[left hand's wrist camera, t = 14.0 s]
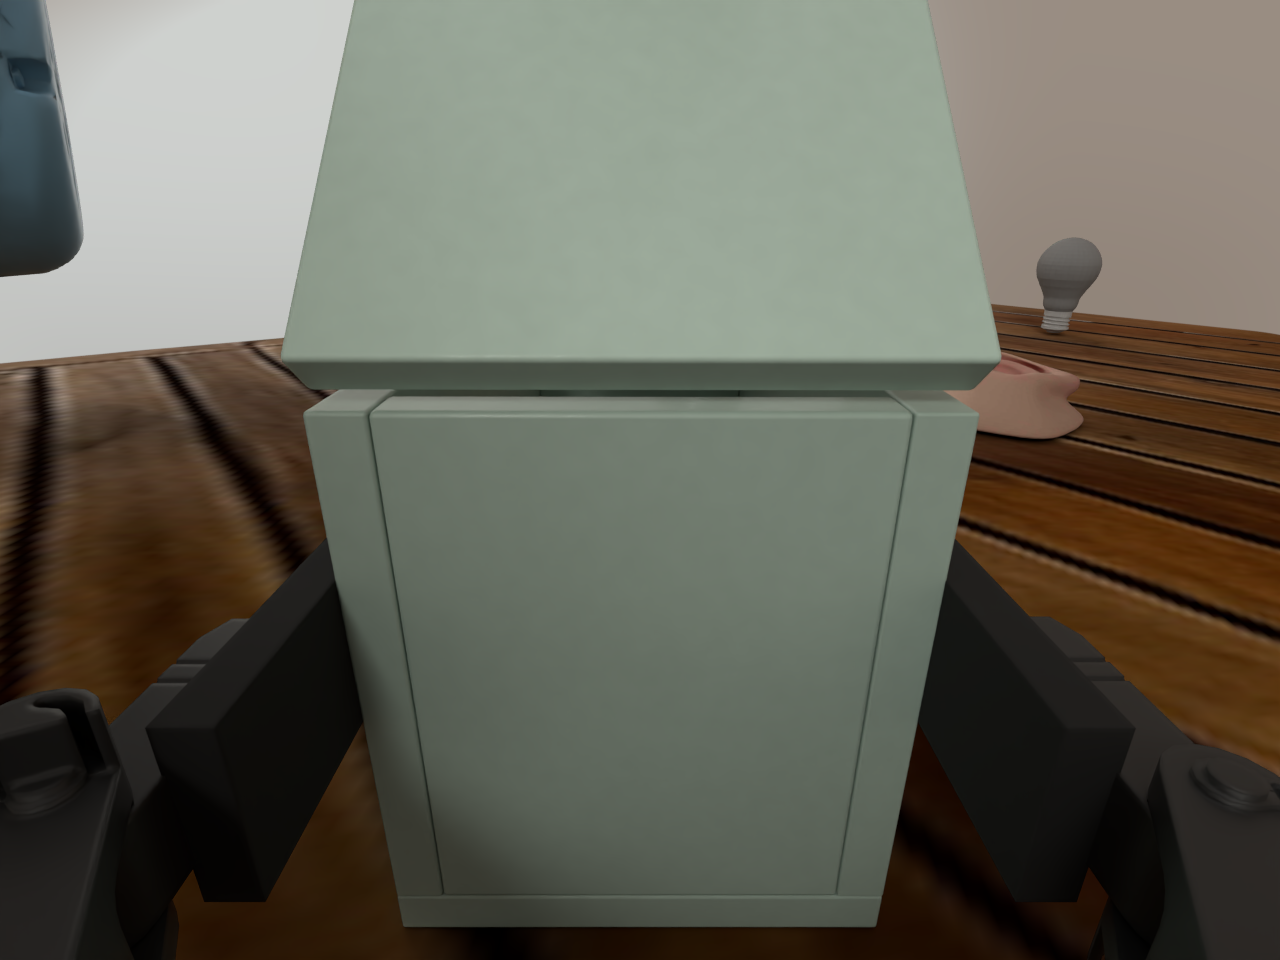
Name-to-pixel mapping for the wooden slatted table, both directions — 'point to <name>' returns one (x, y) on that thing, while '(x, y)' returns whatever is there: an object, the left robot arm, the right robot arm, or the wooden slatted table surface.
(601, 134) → the lid
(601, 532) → the chest
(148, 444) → the wooden slatted table surface
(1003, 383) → the anatomical model
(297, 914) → the wooden slatted table surface
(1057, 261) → the light bulb
